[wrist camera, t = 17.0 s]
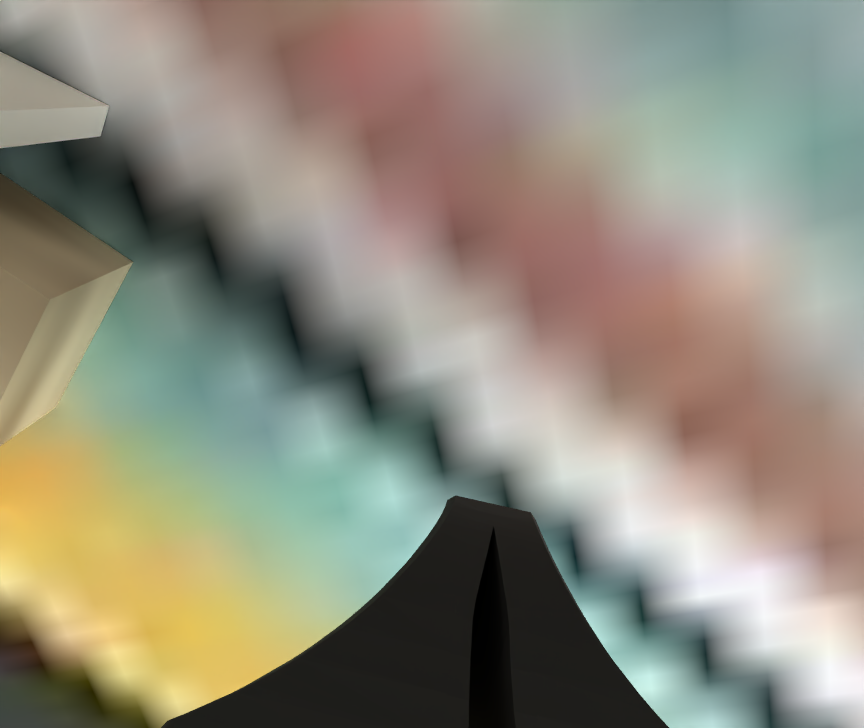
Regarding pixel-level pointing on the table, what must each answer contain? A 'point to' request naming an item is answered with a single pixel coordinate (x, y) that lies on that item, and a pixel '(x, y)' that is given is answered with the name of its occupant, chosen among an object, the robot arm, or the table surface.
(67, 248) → the beige toy brick
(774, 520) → the table surface
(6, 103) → the open shelf unit
